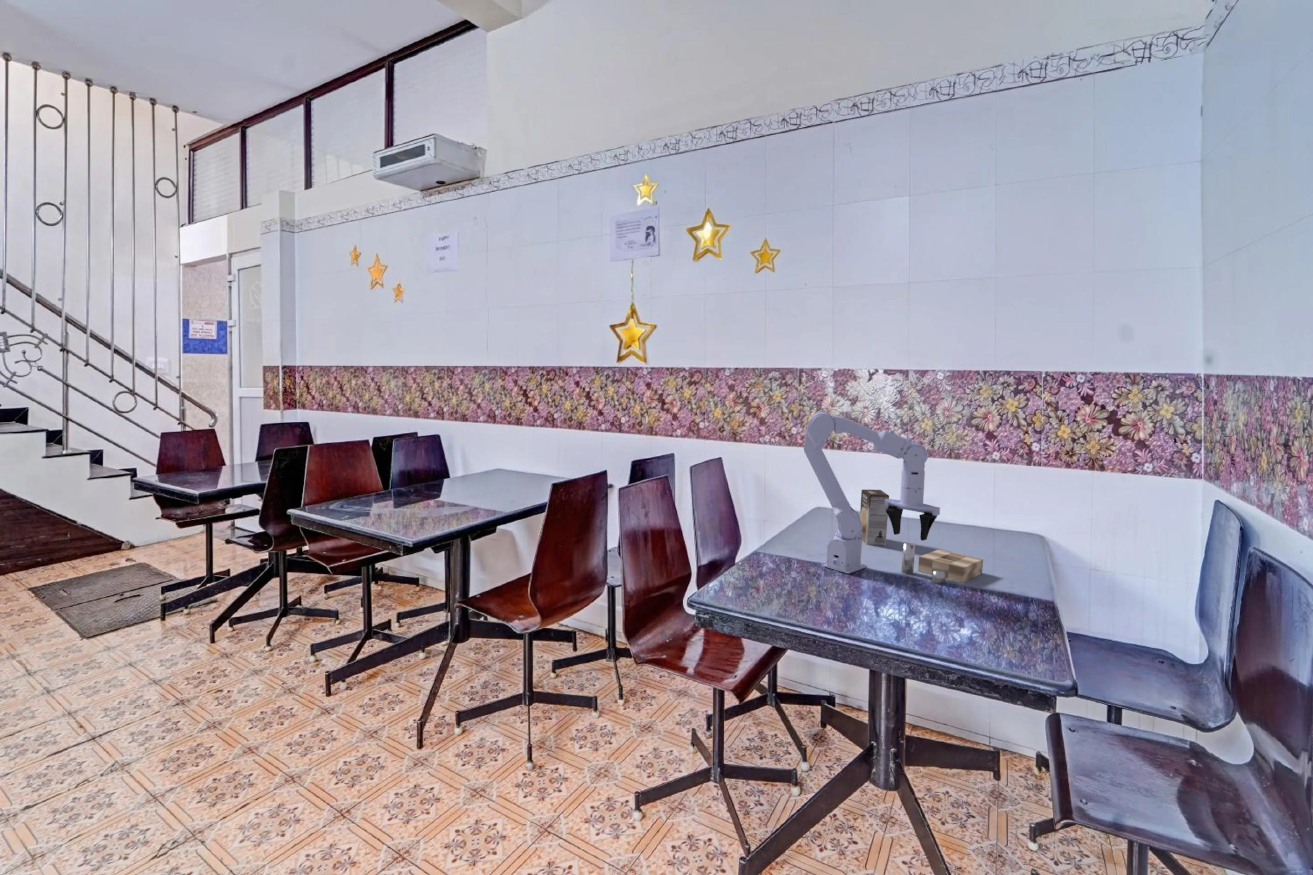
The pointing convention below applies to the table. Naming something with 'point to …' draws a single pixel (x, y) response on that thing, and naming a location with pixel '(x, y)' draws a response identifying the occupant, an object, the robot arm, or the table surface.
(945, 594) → the table surface
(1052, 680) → the table surface
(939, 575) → the short stub
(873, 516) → the coffee box
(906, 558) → the long pin
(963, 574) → the socket block
